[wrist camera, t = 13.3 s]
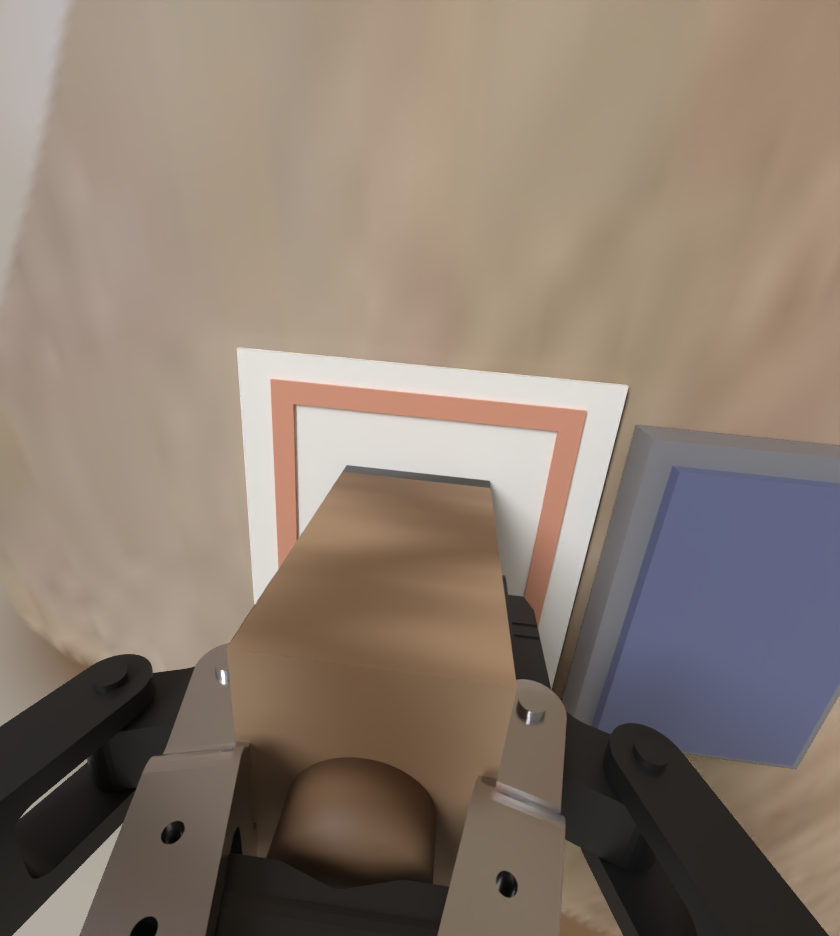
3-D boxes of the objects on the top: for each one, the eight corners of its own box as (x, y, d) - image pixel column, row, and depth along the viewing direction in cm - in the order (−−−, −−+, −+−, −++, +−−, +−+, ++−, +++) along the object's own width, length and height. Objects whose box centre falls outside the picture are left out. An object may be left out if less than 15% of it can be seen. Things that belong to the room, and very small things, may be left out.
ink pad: (919, 453, 11) (986, 478, 10) (772, 734, 15) (805, 782, 14) (635, 424, 12) (660, 444, 10) (560, 705, 16) (570, 749, 14)
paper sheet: (626, 385, 12) (630, 387, 11) (540, 724, 16) (541, 732, 16) (240, 347, 12) (235, 349, 12) (262, 686, 17) (259, 692, 16)
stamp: (489, 480, 13) (525, 758, 5) (464, 649, 15) (464, 1011, 7) (346, 465, 13) (184, 710, 5) (342, 633, 15) (225, 969, 8)
